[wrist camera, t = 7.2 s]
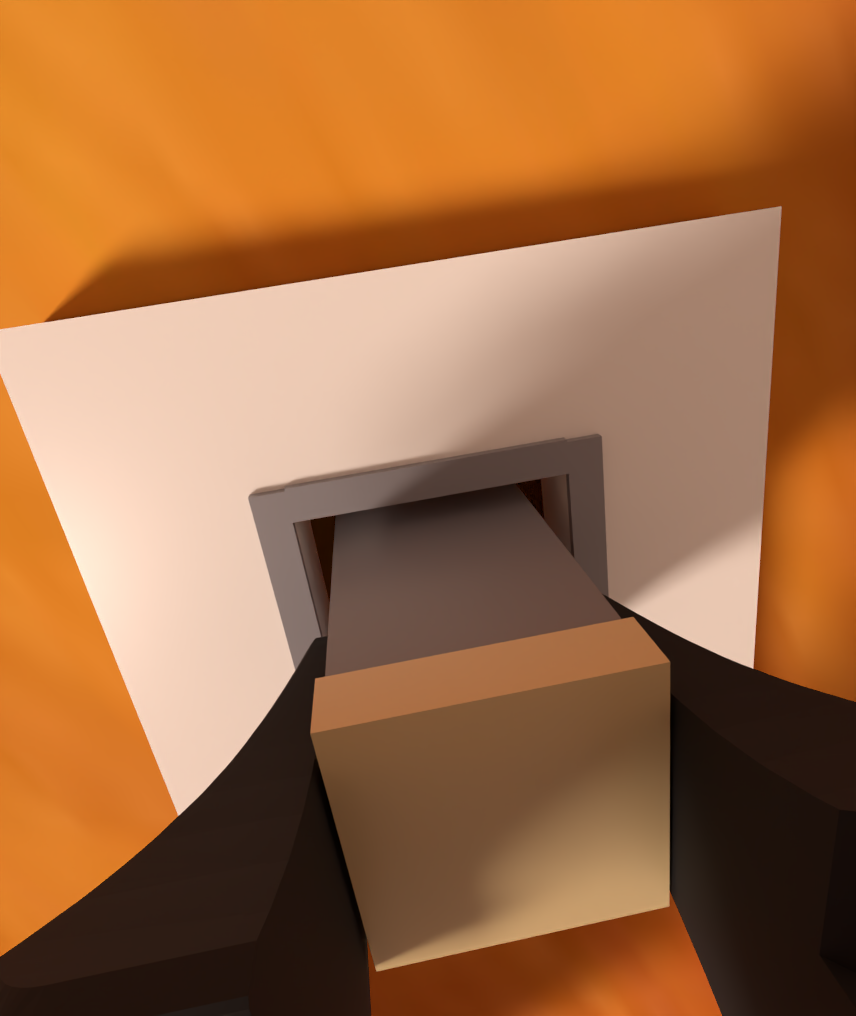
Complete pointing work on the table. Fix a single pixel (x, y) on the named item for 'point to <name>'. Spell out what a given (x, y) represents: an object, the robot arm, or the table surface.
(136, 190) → the table surface
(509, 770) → the plug
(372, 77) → the table surface
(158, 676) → the socket
